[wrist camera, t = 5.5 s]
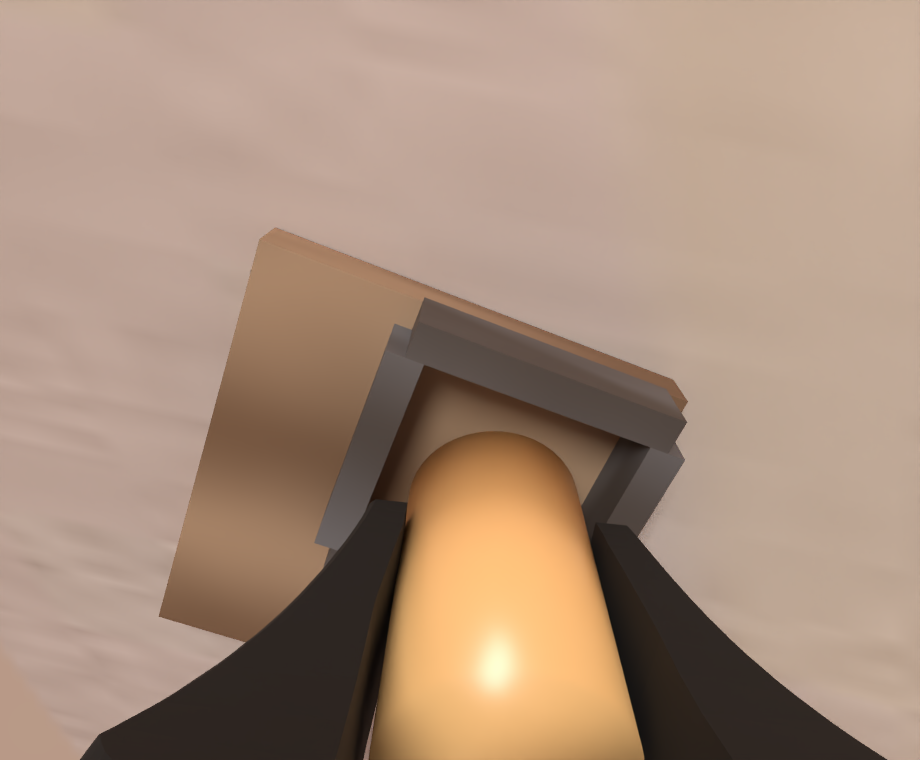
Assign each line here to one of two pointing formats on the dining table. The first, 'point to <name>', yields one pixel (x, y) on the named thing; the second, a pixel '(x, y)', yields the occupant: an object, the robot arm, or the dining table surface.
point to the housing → (386, 423)
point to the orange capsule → (499, 617)
